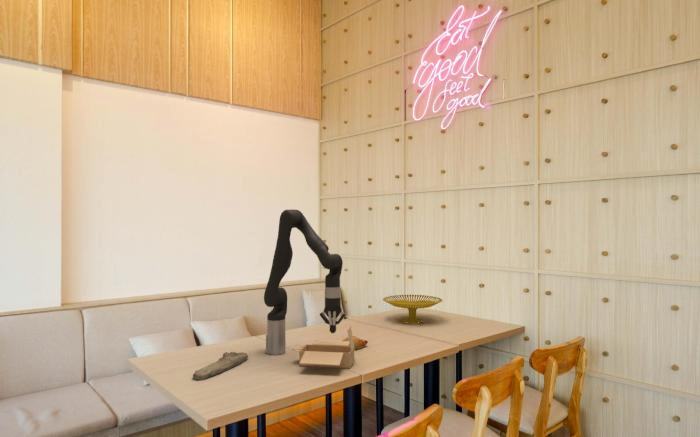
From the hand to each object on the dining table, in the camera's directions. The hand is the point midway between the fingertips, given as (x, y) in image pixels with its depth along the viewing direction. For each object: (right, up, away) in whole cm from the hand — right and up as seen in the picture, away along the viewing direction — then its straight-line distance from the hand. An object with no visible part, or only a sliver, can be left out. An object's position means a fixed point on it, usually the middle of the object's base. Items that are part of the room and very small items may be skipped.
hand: (333, 332), depth 214 cm
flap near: (-4, -7, -6) cm, 10 cm away
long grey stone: (-51, -15, -6) cm, 53 cm away
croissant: (+8, -15, +26) cm, 31 cm away
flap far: (+9, -7, -2) cm, 12 cm away
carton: (-4, -15, +5) cm, 16 cm away
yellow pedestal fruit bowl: (+50, -16, +92) cm, 106 cm away
